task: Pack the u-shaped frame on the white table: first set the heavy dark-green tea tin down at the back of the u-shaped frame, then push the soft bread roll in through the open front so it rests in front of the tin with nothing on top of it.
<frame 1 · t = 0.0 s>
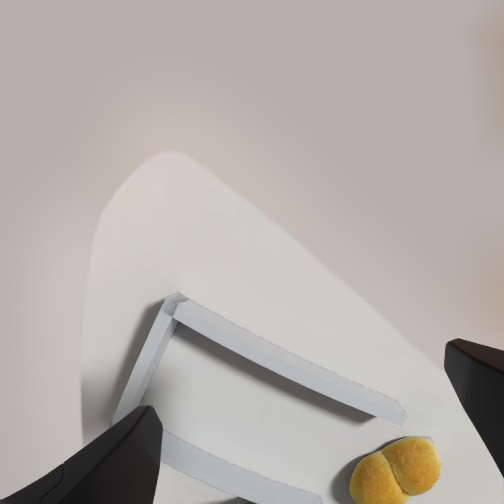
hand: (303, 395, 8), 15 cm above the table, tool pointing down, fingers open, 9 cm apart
bread roll: (393, 466, 23), on the table
u-shaped frame: (254, 418, 24), on the table
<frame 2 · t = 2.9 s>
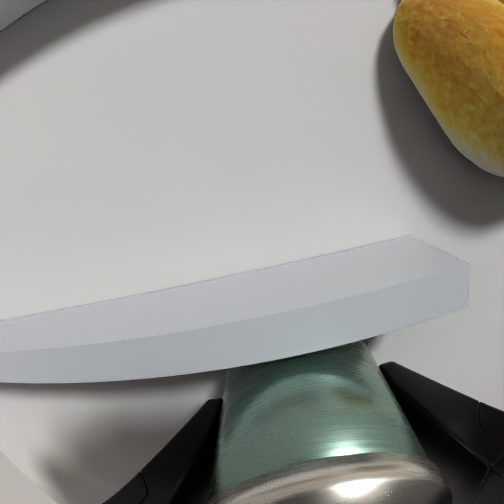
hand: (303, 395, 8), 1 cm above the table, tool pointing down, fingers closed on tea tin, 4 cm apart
bread roll: (484, 53, 7), on the table
u-shaped frame: (44, 137, 8), on the table
tea tin: (298, 369, 10), on the table, touching gripper
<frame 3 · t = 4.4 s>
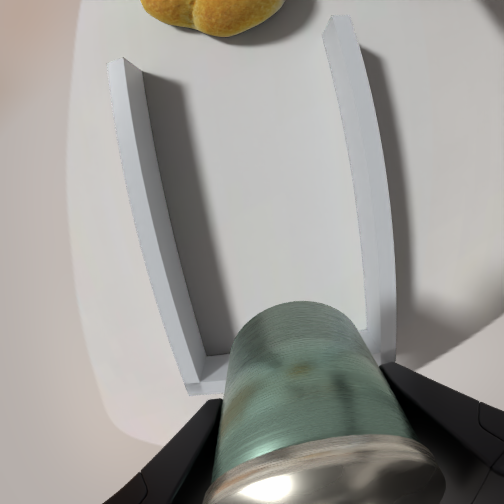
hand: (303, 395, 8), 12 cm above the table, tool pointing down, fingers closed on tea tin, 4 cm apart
u-shaped frame: (263, 210, 19), on the table
tea tin: (297, 362, 10), point 10 cm above the table, touching gripper
when the fingers open (3 cm above the table, at t = 6.2 s): tea tin drops 2 cm, resting in u-shaped frame.
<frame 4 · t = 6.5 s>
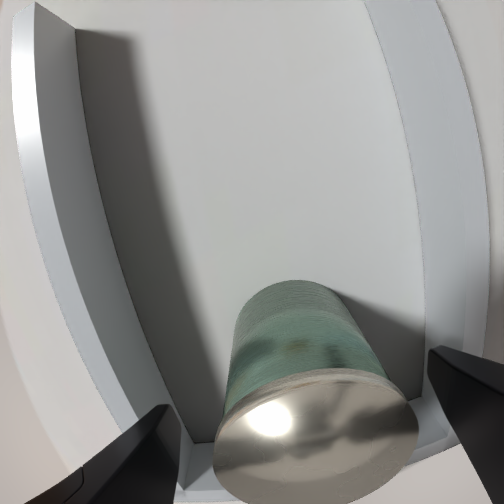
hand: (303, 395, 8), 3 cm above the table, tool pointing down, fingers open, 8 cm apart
u-shaped frame: (269, 234, 11), on the table
tea tin: (293, 335, 12), resting in u-shaped frame
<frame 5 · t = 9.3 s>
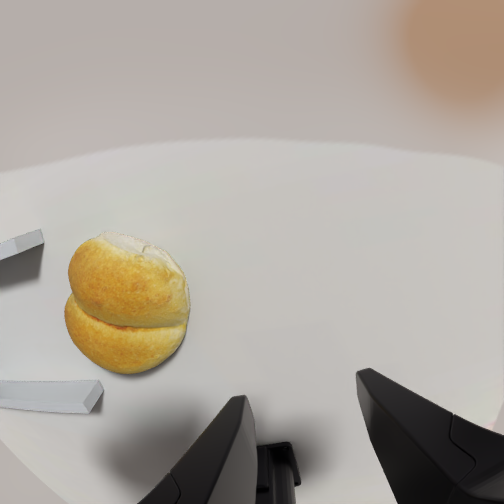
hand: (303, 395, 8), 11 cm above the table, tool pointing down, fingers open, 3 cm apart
bread roll: (129, 296, 20), on the table
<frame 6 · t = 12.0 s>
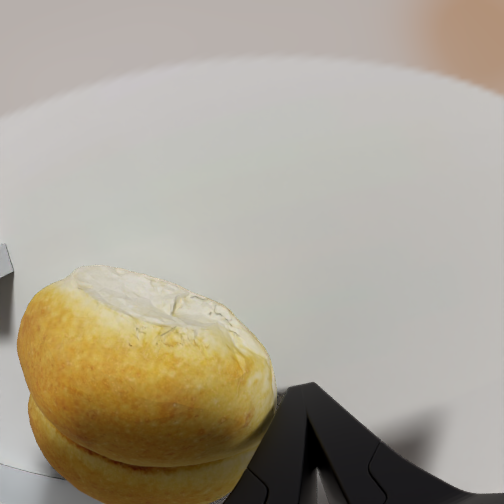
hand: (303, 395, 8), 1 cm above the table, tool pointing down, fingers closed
bread roll: (144, 382, 10), on the table, touching gripper
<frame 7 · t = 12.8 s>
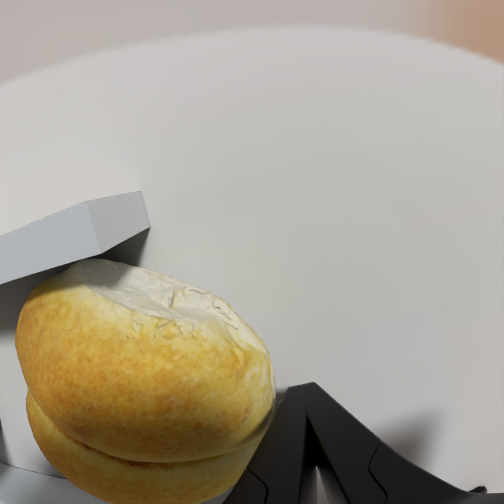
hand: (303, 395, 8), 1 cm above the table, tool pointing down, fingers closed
bread roll: (143, 378, 10), on the table, touching gripper
u-shaped frame: (8, 400, 10), on the table
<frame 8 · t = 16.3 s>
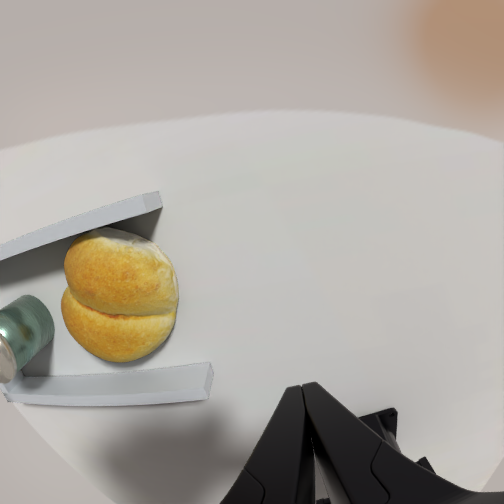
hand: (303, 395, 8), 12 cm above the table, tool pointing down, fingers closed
bread roll: (122, 288, 21), on the table
u-shaped frame: (66, 313, 21), on the table
tea tin: (34, 320, 21), resting in u-shaped frame
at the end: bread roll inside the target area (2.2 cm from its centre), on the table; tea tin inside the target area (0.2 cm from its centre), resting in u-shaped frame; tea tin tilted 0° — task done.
